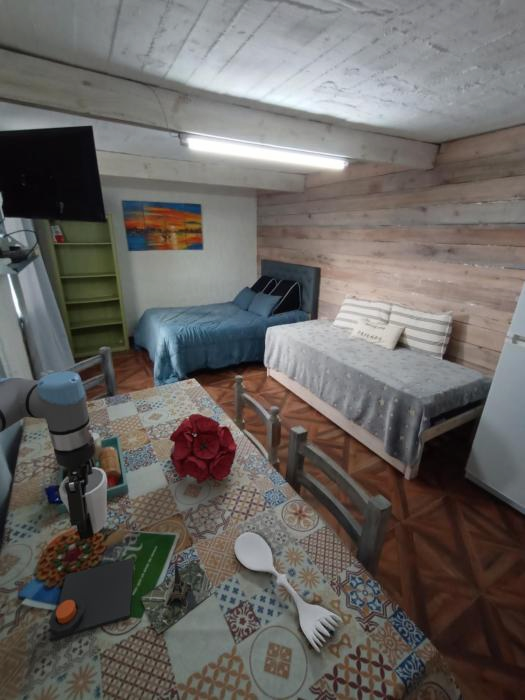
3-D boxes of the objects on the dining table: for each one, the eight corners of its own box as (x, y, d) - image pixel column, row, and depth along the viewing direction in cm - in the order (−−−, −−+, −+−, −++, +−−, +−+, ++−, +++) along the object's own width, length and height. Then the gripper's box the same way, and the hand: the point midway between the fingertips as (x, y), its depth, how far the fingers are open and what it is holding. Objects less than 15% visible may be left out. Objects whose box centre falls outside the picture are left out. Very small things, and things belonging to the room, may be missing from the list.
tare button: (55, 626, 68) (53, 620, 67) (60, 608, 71) (58, 602, 71) (74, 620, 69) (72, 615, 68) (78, 603, 72) (76, 597, 72)
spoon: (317, 661, 66) (319, 652, 64) (227, 550, 88) (227, 541, 87) (343, 628, 71) (344, 619, 70) (252, 532, 94) (252, 523, 92)
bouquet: (159, 493, 114) (208, 498, 94) (140, 431, 115) (183, 423, 95) (205, 466, 131) (255, 465, 111) (188, 411, 131) (234, 401, 111)
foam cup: (98, 502, 82) (90, 462, 78) (122, 518, 78) (114, 476, 74) (61, 529, 75) (50, 486, 70) (85, 548, 70) (74, 504, 66)
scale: (48, 643, 67) (45, 635, 66) (66, 577, 80) (63, 569, 79) (130, 619, 72) (128, 611, 71) (134, 560, 85) (133, 552, 84)
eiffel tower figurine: (195, 559, 85) (193, 523, 80) (216, 590, 78) (215, 552, 73) (140, 599, 76) (134, 560, 71) (158, 638, 69) (152, 598, 64)
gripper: (82, 473, 59) (101, 557, 67) (100, 412, 79) (113, 482, 87) (36, 482, 57) (61, 567, 65) (66, 416, 77) (83, 488, 85)
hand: (91, 518), depth 76 cm, fingers closed on foam cup, 9 cm apart
